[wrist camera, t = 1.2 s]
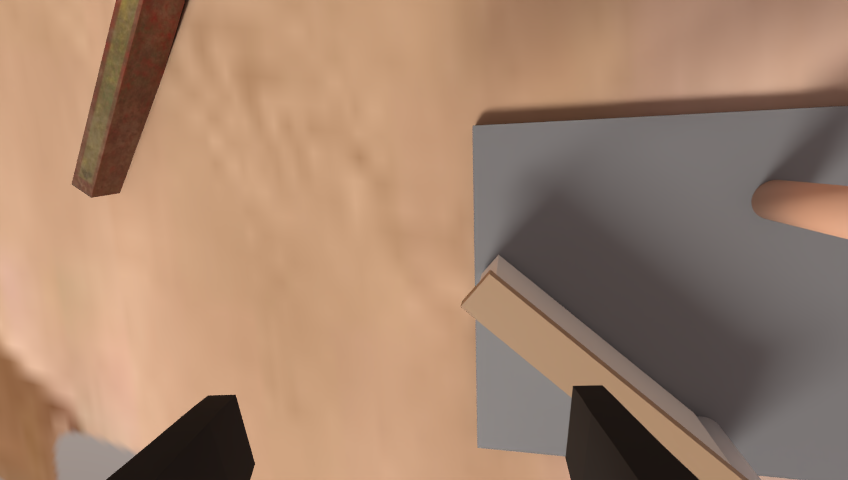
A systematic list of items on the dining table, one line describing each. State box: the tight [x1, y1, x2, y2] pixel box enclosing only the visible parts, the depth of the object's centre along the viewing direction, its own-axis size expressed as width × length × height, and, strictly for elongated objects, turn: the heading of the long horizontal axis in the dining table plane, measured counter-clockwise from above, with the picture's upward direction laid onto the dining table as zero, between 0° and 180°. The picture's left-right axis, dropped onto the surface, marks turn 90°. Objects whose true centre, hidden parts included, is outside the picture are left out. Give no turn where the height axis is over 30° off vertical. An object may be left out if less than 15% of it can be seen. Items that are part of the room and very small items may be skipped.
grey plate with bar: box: [473, 106, 848, 480], centre depth 16 cm, size 16×22×7 cm
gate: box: [461, 255, 761, 480], centre depth 17 cm, size 13×2×5 cm, turn 52°
